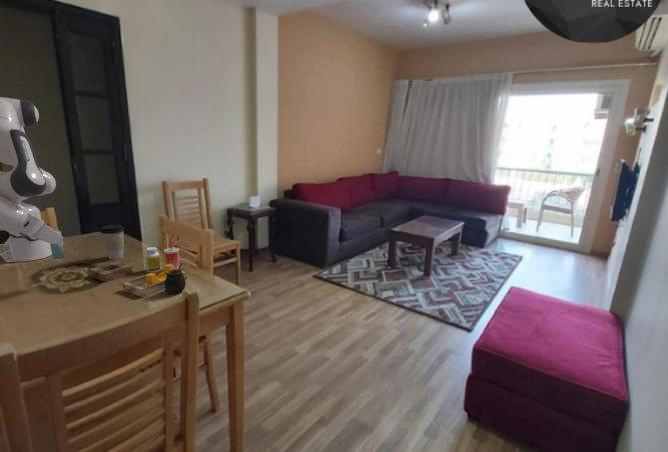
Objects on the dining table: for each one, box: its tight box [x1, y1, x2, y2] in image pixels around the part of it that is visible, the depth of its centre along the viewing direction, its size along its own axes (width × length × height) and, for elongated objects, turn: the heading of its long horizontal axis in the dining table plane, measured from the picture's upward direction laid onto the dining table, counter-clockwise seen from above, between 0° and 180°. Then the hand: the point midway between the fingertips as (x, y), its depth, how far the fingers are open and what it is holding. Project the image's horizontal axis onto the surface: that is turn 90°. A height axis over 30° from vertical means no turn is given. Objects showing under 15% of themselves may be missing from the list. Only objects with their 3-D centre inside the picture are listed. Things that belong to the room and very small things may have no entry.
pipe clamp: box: [145, 264, 174, 287], centre depth 135 cm, size 12×4×6 cm, turn 167°
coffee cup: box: [100, 224, 125, 261], centre depth 161 cm, size 9×9×15 cm
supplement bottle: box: [144, 247, 161, 273], centre depth 148 cm, size 5×5×10 cm
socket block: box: [88, 261, 133, 283], centre depth 143 cm, size 11×11×3 cm
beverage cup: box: [163, 238, 180, 269], centre depth 149 cm, size 6×6×14 cm
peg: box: [50, 230, 65, 260], centre depth 129 cm, size 4×4×10 cm
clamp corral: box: [121, 267, 188, 298], centre depth 135 cm, size 11×19×3 cm, turn 153°
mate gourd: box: [164, 262, 187, 295], centre depth 130 cm, size 7×8×10 cm
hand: (58, 243), depth 130 cm, fingers closed on peg, 4 cm apart
